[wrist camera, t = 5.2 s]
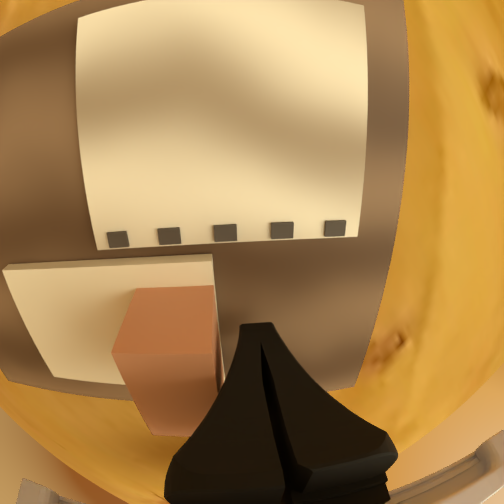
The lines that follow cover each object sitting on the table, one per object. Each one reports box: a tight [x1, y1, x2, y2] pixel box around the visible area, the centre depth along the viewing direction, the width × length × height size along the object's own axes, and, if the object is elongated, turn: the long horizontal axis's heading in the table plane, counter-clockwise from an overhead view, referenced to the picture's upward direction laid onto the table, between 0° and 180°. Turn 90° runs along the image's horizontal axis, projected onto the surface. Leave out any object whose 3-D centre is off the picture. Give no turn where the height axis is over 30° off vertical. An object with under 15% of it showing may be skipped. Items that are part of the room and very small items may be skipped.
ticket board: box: [0, 0, 409, 401], centre depth 11 cm, size 20×24×2 cm
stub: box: [2, 254, 225, 437], centre depth 10 cm, size 7×10×4 cm
